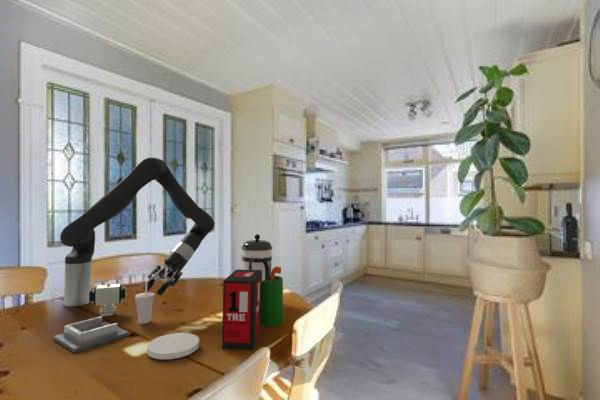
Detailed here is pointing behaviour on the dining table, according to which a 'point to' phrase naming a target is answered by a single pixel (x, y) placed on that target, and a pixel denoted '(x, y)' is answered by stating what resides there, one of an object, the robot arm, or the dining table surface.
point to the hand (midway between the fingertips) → (151, 292)
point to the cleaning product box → (242, 309)
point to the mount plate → (89, 334)
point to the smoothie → (144, 306)
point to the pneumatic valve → (107, 297)
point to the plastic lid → (173, 346)
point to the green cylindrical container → (272, 299)
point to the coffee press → (257, 256)
